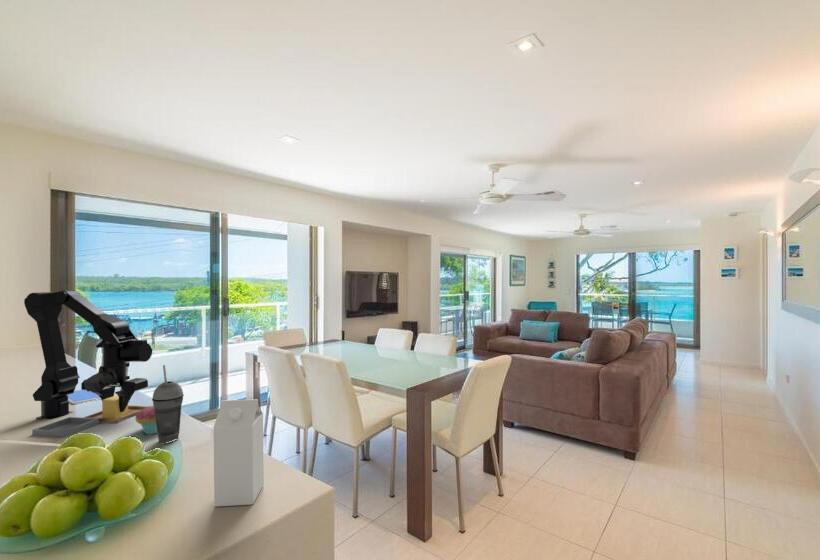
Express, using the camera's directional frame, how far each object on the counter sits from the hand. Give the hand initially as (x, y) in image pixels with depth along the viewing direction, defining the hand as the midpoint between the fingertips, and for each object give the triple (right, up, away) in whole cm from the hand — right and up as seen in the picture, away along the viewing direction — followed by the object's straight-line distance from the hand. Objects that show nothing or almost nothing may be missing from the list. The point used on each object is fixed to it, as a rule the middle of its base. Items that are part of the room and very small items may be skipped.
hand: (115, 411), depth 123 cm
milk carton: (+58, -2, -45) cm, 74 cm away
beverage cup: (+27, -2, -18) cm, 33 cm away
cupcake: (+19, -2, -11) cm, 23 cm away
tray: (0, -2, +1) cm, 2 cm away
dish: (-6, -2, -11) cm, 12 cm away
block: (0, -1, 0) cm, 1 cm away
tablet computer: (-28, -3, +24) cm, 37 cm away
